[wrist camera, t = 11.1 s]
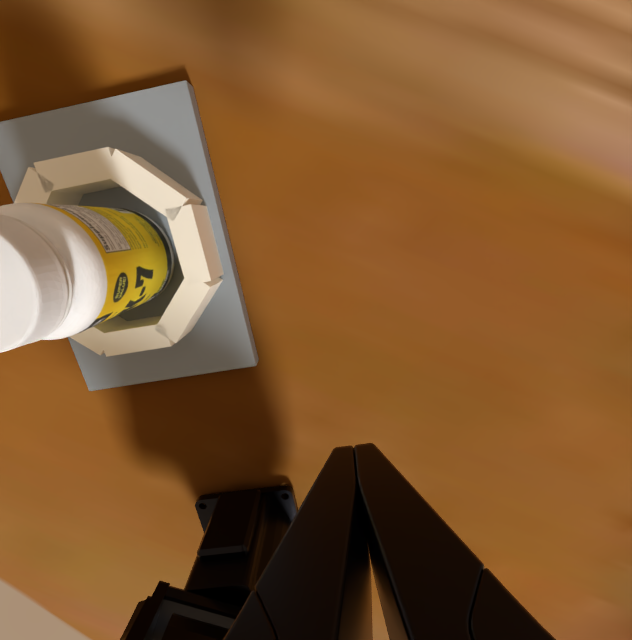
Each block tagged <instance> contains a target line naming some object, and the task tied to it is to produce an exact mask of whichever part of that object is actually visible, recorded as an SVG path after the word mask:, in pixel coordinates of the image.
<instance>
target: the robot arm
mask: <svg viewBox="0 0 632 640" xmlns="http://www.w3.org/2000/svg"><path fill="white" fill-rule="evenodd" d="M283 493H287V494H288V495H284V494H283ZM203 503H204V504H203ZM195 507H196V510H197V513H198V516H199V519H200V522H201V525H202V528H203V531H204V536H203V538H202V541H201V543H200V546H199V549H198V551H197V557H196V560H195V562H194V565H193V567H192V570H191V573H190V575H189V578H188V580H187V583H186V586H185V588H184V590H183V589H179V588H176V587H172V586H169V585H170V583H166V582H163V581H159V583H158V585H157V587H156V589H155V591H154V593H153V595H152V597H150V596H148V597H147V599H146V600H144V601H141V602H139V603H138V605H137V607H136V609H135V611H134V613H133V615H132V617H131V619H130V621H129V623H128V625H127V627H126V629H125V631H124V633H123V635H122V637H121V638H120V640H373V636H372V596H371V568H370V559H371V565H372V569H373V574H374V578H375V582H376V586H377V590H378V594H379V598H380V602H381V606H382V610H383V614H384V618H385V622H386V626H387V631H388V635H389V639H390V640H556V639H555V638H554V637H553V636H552V635H551V634H550V633H548V632H547V631H546V630H545V629H544V628H543V627H542V626H541V625H540V624H539V623H538V621H537V620H536V619H535V618H534V617H533V616H532V615H531V614H530V613H529V612H528V611H527V610H526V609H525V608H524V607H523V606H522V605H521V604H520V603H519V602H518V601H517V600H516V599H515V598H514V596H513V595H512V594H511V593H510V592H509V591H508V590H507V589H506V588H505V587H504V586H503V585H502V584H501V582H500V581H499V580H498V579H497V578H496V577H495V576H494V575H493V574H492V573H491V571H490V570H489V569H487V568H485V569H484V564H483V563H482V562H481V561H480V560H479V559H478V558H477V556H476V555H475V554H474V553H473V552H472V551H471V550H470V549H469V548H468V547H467V545H466V544H465V543H464V542H463V541H462V540H461V539H460V538H459V537H458V536H457V535H456V533H455V532H454V531H453V530H452V529H451V528H450V527H449V526H448V525H447V524H446V522H445V521H444V520H443V519H442V518H441V517H440V516H439V515H438V514H437V513H436V512H435V510H434V509H433V508H432V507H431V506H430V505H429V504H428V503H427V502H426V501H425V499H424V498H423V497H422V496H421V495H420V494H419V493H418V492H417V491H416V490H415V489H414V487H413V486H412V485H411V484H410V483H409V482H408V481H407V480H406V479H405V478H404V476H403V475H402V474H401V473H400V472H399V471H398V470H397V469H396V468H395V467H394V466H393V464H392V463H391V462H390V461H389V460H388V459H387V458H386V457H385V456H384V455H383V453H382V452H381V451H380V450H379V449H378V448H377V447H376V446H375V445H374V444H373V443H367V444H359V445H356V446H355V447H354V448H353V447H352V446H343V447H336V448H334V449H333V451H332V453H331V454H330V456H329V458H328V460H327V461H326V463H325V465H324V467H323V468H322V470H321V472H320V474H319V475H318V477H317V479H316V480H315V482H314V484H313V486H312V487H311V489H310V491H309V493H308V494H307V496H306V498H305V500H304V501H303V503H302V505H301V507H300V508H299V510H298V508H297V504H296V500H295V496H294V491H293V489H292V488H291V487H290V486H286V485H284V486H275V487H267V488H259V489H251V490H242V491H234V492H226V493H218V494H210V495H202V496H200V497H199V498H198V500H197V502H196V504H195ZM368 547H369V548H368ZM369 553H370V556H369Z"/></svg>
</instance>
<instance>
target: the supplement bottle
mask: <svg viewBox="0 0 632 640" xmlns="http://www.w3.org/2000/svg"><path fill="white" fill-rule="evenodd" d="M173 271H174V254H173V250H172V246H171V244H170V241H169V239H168V237H167V236H166V234H165V233H164V231H163V230H162V229H161V228H160V227H159V226H158V225H157V224H156V223H155V222H154V221H153V220H151V219H150V218H148V217H147V216H145V215H143V214H141V213H139V212H136V211H134V210H130V209H124V208H106V207H91V206H73V205H56V204H40V203H13V204H7V205H2V206H0V352H5V351H9V350H11V349H14V348H17V347H20V346H23V345H26V344H29V343H33V342H36V341H39V340H54V339H62V338H65V337H69V336H72V335H75V334H78V333H81V332H83V331H85V330H87V329H89V328H91V327H93V326H95V325H97V324H99V323H102V322H104V321H106V320H108V319H111V318H113V317H115V316H118V315H119V314H121V313H123V312H125V311H128V310H130V309H132V308H134V307H137V306H139V305H141V304H144V303H146V302H148V301H150V300H152V299H154V298H155V297H157V296H158V295H160V294H161V293H162V292H163V291H164V289H165V288H166V287H167V285H168V284H169V282H170V280H171V277H172V274H173Z"/></svg>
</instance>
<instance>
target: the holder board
mask: <svg viewBox="0 0 632 640" xmlns="http://www.w3.org/2000/svg"><path fill="white" fill-rule="evenodd" d="M0 171H1V173H2V175H3V178H4V180H5V183H6V185H7V188H8V190H9V193H10V195H11V198H12V200H13V203H40V204H56V205H73V206H91V207H106V208H124V209H130V210H134V211H136V212H139V213H141V214H143V215H145V216H147V217H148V218H150V219H151V220H153V221H154V222H155V223H156V224H157V225H158V226H159V227H160V228H161V229H162V230H163V231H164V233H165V234H166V236H167V237H168V239H169V241H170V244H171V246H172V250H173V254H174V271H173V274H172V277H171V280H170V282H169V284H168V285H167V287H166V288H165V289H164V291H163V292H162V293H161V294H160V295H158V296H157V297H155V298H154V299H152V300H150V301H148V302H146V303H144V304H141V305H139V306H137V307H134V308H132V309H130V310H128V311H125V312H123V313H121V314H119V315H118V316H115V317H113V318H111V319H108V320H106V321H104V322H102V323H99V324H97V325H95V326H93V327H91V328H89V329H87V330H85V331H83V332H81V333H78V334H75V335H72V336H69V337H68V339H69V342H70V344H71V347H72V349H73V352H74V354H75V357H76V359H77V362H78V364H79V367H80V369H81V371H82V374H83V376H84V379H85V381H86V384H87V386H88V389H89V391H94V390H100V389H107V388H113V387H120V386H127V385H133V384H140V383H146V382H153V381H160V380H166V379H173V378H179V377H186V376H193V375H199V374H206V373H213V372H219V371H226V370H232V369H239V368H246V367H252V366H256V365H257V363H258V361H259V359H258V355H257V350H256V346H255V342H254V338H253V334H252V330H251V326H250V321H249V317H248V313H247V309H246V305H245V301H244V297H243V292H242V288H241V284H240V280H239V276H238V272H237V268H236V263H235V259H234V255H233V251H232V247H231V243H230V239H229V234H228V230H227V226H226V222H225V218H224V214H223V210H222V205H221V201H220V197H219V193H218V189H217V185H216V181H215V176H214V172H213V168H212V164H211V160H210V156H209V152H208V147H207V143H206V139H205V135H204V131H203V127H202V123H201V118H200V114H199V110H198V106H197V102H196V98H195V93H194V89H193V86H192V85H190V84H189V83H188V82H187V81H186V80H185V81H180V82H176V83H171V84H167V85H162V86H158V87H154V88H149V89H145V90H140V91H136V92H131V93H127V94H122V95H118V96H113V97H109V98H105V99H100V100H96V101H91V102H87V103H82V104H78V105H73V106H69V107H64V108H60V109H56V110H51V111H47V112H42V113H38V114H33V115H29V116H24V117H20V118H15V119H11V120H7V121H2V122H0Z"/></svg>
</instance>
